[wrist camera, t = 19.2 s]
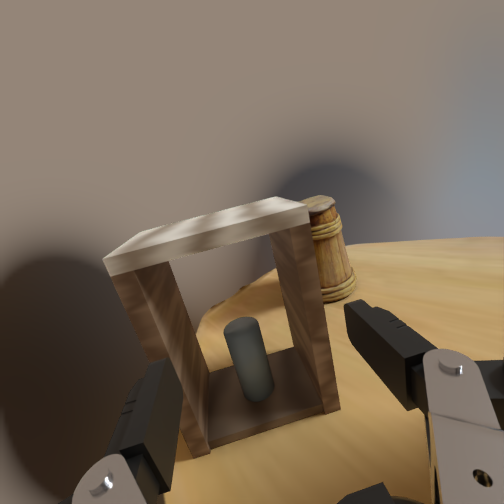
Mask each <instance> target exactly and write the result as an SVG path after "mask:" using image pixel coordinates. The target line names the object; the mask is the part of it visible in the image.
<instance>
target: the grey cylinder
mask: <svg viewBox="0 0 504 504" xmlns="http://www.w3.org/2000/svg"><path fill="white" fill-rule="evenodd" d="M224 336H225V339H226V342H227V345H228V349H229V352H230V355H231V358H232V361H233V364H234V367H235V370H236V373H237V376H238V379H239V383H240V386H241V389H242V392H243V395H244V397H245V398H246V399H248V400H249V401H253V402H259V401H262V400H265V399H266V398H268V397H269V396H270V395H271V394H272V392H273V390H274V386H275V384H274V380H273V376H272V372H271V368H270V365H269V361H268V357H267V353H266V350H265V346H264V342H263V338H262V335H261V331H260V327H259V323H258V321H257V320H256V319H255V318H252V317H241V318H238V319H235V320H233V321H231V322H230V323H229V324H228V325H227V326H226V327H225V329H224Z"/></svg>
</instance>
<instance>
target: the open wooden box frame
mask: <svg viewBox="0 0 504 504" xmlns="http://www.w3.org/2000/svg"><path fill="white" fill-rule="evenodd" d="M265 234H269V236H270V240H271V245H272V250H273V254H274V259H275V263H276V268H277V272H278V277H279V281H280V286H281V290H282V295H283V299H284V304H285V309H286V313H287V318H288V322H289V327H290V331H291V336H292V340H293V345H294V347H291V348H288V349H285V350H282V351H278V352H275V353H272V354H269V355H267V357H268V361H269V365H270V368H271V372H272V376H273V380H274V384H275V386H274V390H273V392H272V394H271V395H270V396H269V397H268V398H266V399H265V400H262V401H259V402H253V401H249V400H248V399H246V398H245V397H244V395H243V392H242V389H241V386H240V383H239V379H238V376H237V373H236V370H235V367H234V365H233V366H230V367H227V368H224V369H220V370H217V371H214V372H211V373H209V370H208V367H207V365H206V362H205V359H204V356H203V354H202V351H201V348H200V345H199V343H198V340H197V337H196V335H195V332H194V329H193V326H192V324H191V321H190V318H189V316H188V313H187V310H186V307H185V305H184V302H183V299H182V297H181V294H180V291H179V288H178V286H177V283H176V281H175V278H174V275H173V272H172V269H171V267H170V264H169V261H170V260H173V259H177V258H181V257H184V256H188V255H192V254H195V253H199V252H203V251H207V250H210V249H214V248H218V247H221V246H225V245H228V244H232V243H236V242H240V241H243V240H247V239H251V238H254V237H258V236H262V235H265ZM103 261H104V264H105V266H106V268H107V270H108V273H109V275H110V277H111V279H112V281H113V283H114V286H115V288H116V290H117V292H118V294H119V297H120V298H121V301H122V303H123V305H124V307H125V310H126V312H127V314H128V316H129V318H130V321H131V323H132V325H133V327H134V329H135V332H136V334H137V336H138V338H139V340H140V343H141V345H142V347H143V349H144V351H145V353H146V355H147V358H148V360H149V362H150V363H151V362H154V361H157V360H161V359H164V358H167V357H168V358H170V360H171V362H172V364H173V366H174V368H175V371H176V373H177V375H178V378H179V380H180V382H181V385H182V389H183V404H182V412H181V419H180V426H179V428H180V430H181V432H182V434H183V437H184V439H185V441H186V443H187V445H188V448H189V450H190V452H191V454H192V456H193V458H197V457H200V456H203V455H206V454H209V453H210V449H213V448H216V447H219V446H222V445H225V444H228V443H231V442H234V441H237V440H240V439H243V438H246V437H249V436H252V435H255V434H258V433H261V432H264V431H267V430H270V429H273V428H276V427H279V426H282V425H285V424H288V423H291V422H294V421H297V420H300V419H303V418H306V417H309V416H312V415H315V414H318V413H321V412H324V413H325V414H328V413H331V412H334V411H337V410H340V409H341V408H340V402H339V396H338V390H337V383H336V377H335V371H334V365H333V359H332V353H331V347H330V341H329V335H328V329H327V323H326V317H325V310H324V304H323V298H322V292H321V286H320V280H319V274H318V268H317V262H316V256H315V250H314V243H313V237H312V231H311V225H310V219H309V213H308V207H307V205H306V204H303V203H299V202H295V201H291V200H287V199H283V198H279V197H272V198H268V199H264V200H261V201H257V202H253V203H249V204H245V205H241V206H237V207H234V208H230V209H226V210H223V211H218V212H214V213H211V214H207V215H203V216H199V217H195V218H191V219H188V220H184V221H180V222H176V223H172V224H168V225H165V226H161V227H157V228H153V229H149V230H145V231H141V232H140V233H138V234H137V235H135V236H134V237H133V238H131V239H130V240H128V241H127V242H126V243H124V244H123V245H121V246H120V247H119V248H117V249H116V250H114V251H113V252H112V253H110V254H109V255H107V256H106V257H104V258H103Z"/></svg>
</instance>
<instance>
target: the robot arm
mask: <svg viewBox="0 0 504 504" xmlns="http://www.w3.org/2000/svg"><path fill="white" fill-rule="evenodd" d="M344 313H345V320H346V327H347V333H348V337H349V339H350V341H351V343H352V345H353V346H354V347H355V349H356V350H357V351H358V352H359V354H360V355H361V356H362V357H363V358H364V360H365V361H366V362H367V363H368V364H369V366H370V367H371V368H372V369H373V370H374V372H375V373H376V374H377V375H378V376H379V378H380V379H381V380H382V381H383V382H384V384H385V385H386V386H387V387H388V389H389V390H390V391H391V392H392V393H393V395H394V396H395V397H396V398H397V399H398V401H399V402H400V403H401V404H402V405H403V407H404V408H405V409H406V410H407V411H410V410H412V409H415V408H419V409H420V410H421V411H422V412H423V414H424V422H425V432H426V442H427V452H428V462H429V472H430V484H431V500H432V504H504V359H503V360H488V361H473V360H471V359H470V358H469V357H467V356H465V355H463V354H461V353H459V352H456V351H453V350H448V349H438V348H437V347H435V346H434V345H433V344H431V343H430V342H429V341H427V340H426V339H425V338H423V337H422V336H421V335H420V334H418V333H417V332H416V331H414V330H413V329H412V328H410V327H409V326H407V325H406V324H405V323H404V322H402V321H401V320H399V319H398V318H397V317H396V316H395V315H393V314H392V313H391V312H389V311H387V310H384V309H382V308H379V307H374V308H372V307H371V306H369V305H368V304H367V303H366V302H365V301H363V300H362V299H360V300H356V301H353V302H350V303H346V304H344ZM182 404H183V389H182V385H181V382H180V380H179V378H178V375H177V373H176V371H175V368H174V366H173V364H172V362H171V360H170V358H168V357H167V358H164V359H161V360H157V361H154V362H151V363H150V364H149V366H148V368H147V371H146V374H145V377H144V378H141V379H139V380H138V381H137V382H136V384H135V385H134V386H133V388H132V389H131V390H130V392H129V395H128V398H127V400H126V402H125V406H124V408H123V410H122V413H121V416H120V418H119V420H118V423H117V426H116V428H115V430H114V433H113V435H112V438H111V440H110V443H109V446H108V448H107V451H106V453H105V456H104V458H103V459H101V460H99V461H98V462H97V463H96V464H94V465H93V466H92V467H91V468H90V469H89V470H88V471H87V472H86V474H85V475H84V476H83V477H82V479H81V480H80V482H79V484H78V485H77V487H76V489H75V492H74V494H72V495H71V496H69V497H68V498H66V499H65V500H63V501H61V502H60V503H58V504H157V499H158V495H160V494H163V493H166V492H169V491H171V484H172V476H173V469H174V462H175V455H176V448H177V440H178V433H179V426H180V419H181V412H182ZM337 504H424V503H421V502H419V501H416V500H412V499H409V498H404V497H398V496H390V494H389V493H388V491H387V489H386V487H385V485H384V484H383V482H382V483H379V484H376V485H373V486H371V487H368V488H365V489H362V490H360V491H357V492H354V493H351V494H349V495H346V496H345V497H344V498H343V499H342V500H341V501H339V502H338V503H337Z"/></svg>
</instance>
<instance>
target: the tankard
mask: <svg viewBox="0 0 504 504" xmlns="http://www.w3.org/2000/svg"><path fill="white" fill-rule="evenodd" d="M299 203H303V204H306V205H307V207H308V213H309V219H310V225H311V231H312V237H313V243H314V250H315V256H316V262H317V268H318V274H319V280H320V286H321V292H322V298H323V303H327V302H333V301H338V300H341V299H343V298H345V297H347V296H348V295H349V294H351V293H352V292H353V290H354V289H355V287H356V279H357V278H356V274H355V271H354V269H353V268H352V267H351V266H350V263H349V259H348V255H347V252H346V248H345V244H344V240H343V237H342V232H341V228H342V224H341V220H340V216H339V214H338V213H336V210H335V207H334V204H335V201H334V200H333V199H332V198H331V197H327V196H322V195H319V196H315V197H311V198H308V199H305V200H302V201H300V202H299Z"/></svg>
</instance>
